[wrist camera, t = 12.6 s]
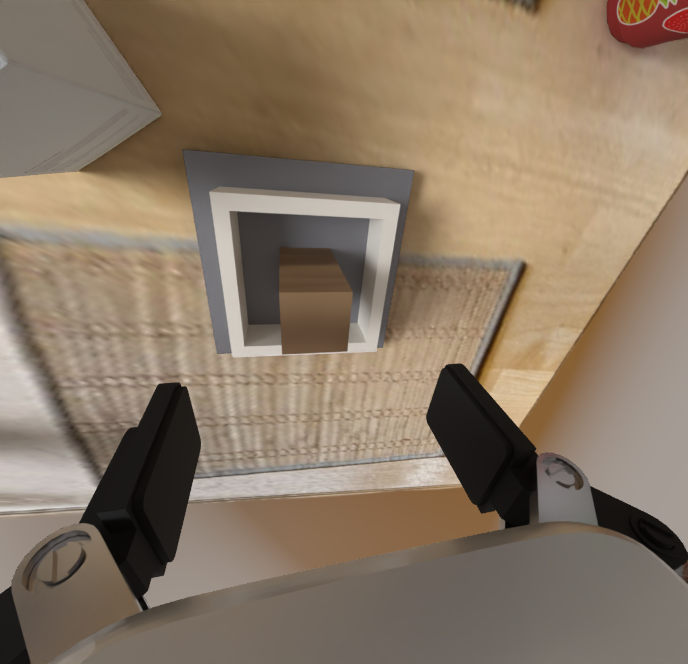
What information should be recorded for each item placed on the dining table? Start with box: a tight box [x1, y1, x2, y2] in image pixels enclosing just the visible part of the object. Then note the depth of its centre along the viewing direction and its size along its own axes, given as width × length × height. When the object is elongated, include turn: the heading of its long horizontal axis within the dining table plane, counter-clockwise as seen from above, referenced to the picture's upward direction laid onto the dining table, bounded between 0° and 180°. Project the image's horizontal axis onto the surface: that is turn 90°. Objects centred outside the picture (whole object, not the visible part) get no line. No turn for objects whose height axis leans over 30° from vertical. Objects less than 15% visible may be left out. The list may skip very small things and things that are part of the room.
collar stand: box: [182, 150, 414, 357], centre depth 23 cm, size 16×16×5 cm
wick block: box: [279, 247, 353, 355], centre depth 21 cm, size 4×4×9 cm
